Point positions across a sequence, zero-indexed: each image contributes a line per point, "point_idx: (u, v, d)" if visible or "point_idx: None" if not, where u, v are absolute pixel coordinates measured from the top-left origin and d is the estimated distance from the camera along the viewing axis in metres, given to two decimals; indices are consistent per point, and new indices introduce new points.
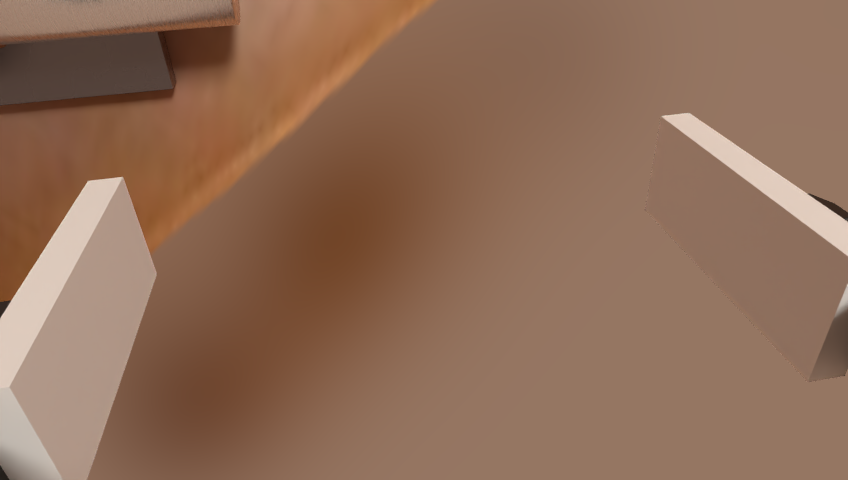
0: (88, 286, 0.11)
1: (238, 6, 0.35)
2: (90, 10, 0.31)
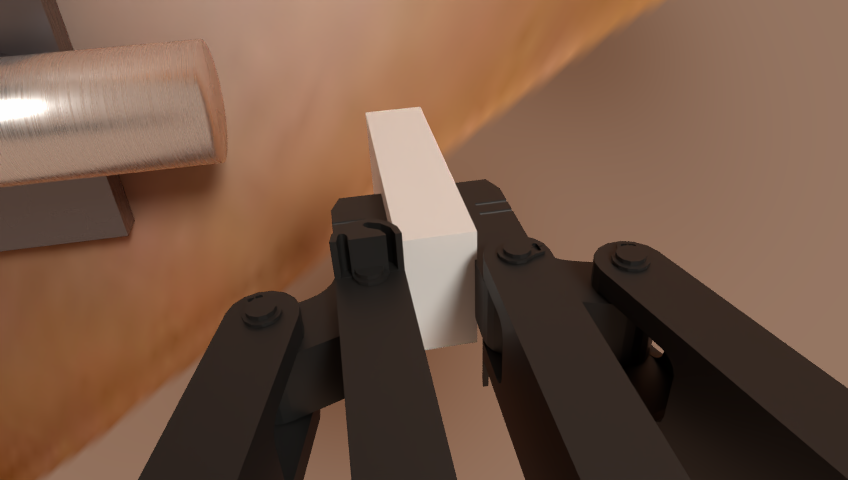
0: None
1: (224, 127, 0.22)
2: None
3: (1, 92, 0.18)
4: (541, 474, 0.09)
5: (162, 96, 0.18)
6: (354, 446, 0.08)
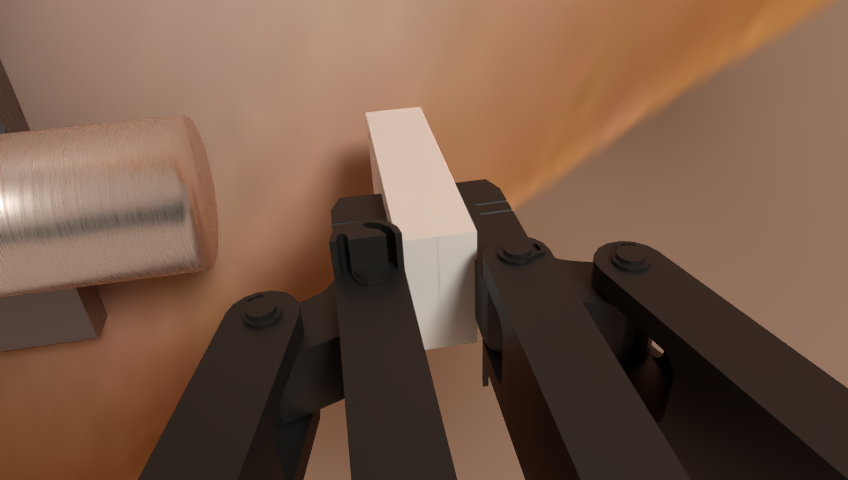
0: None
1: (214, 218, 0.17)
2: None
3: None
4: (541, 474, 0.09)
5: (129, 198, 0.14)
6: (354, 446, 0.08)
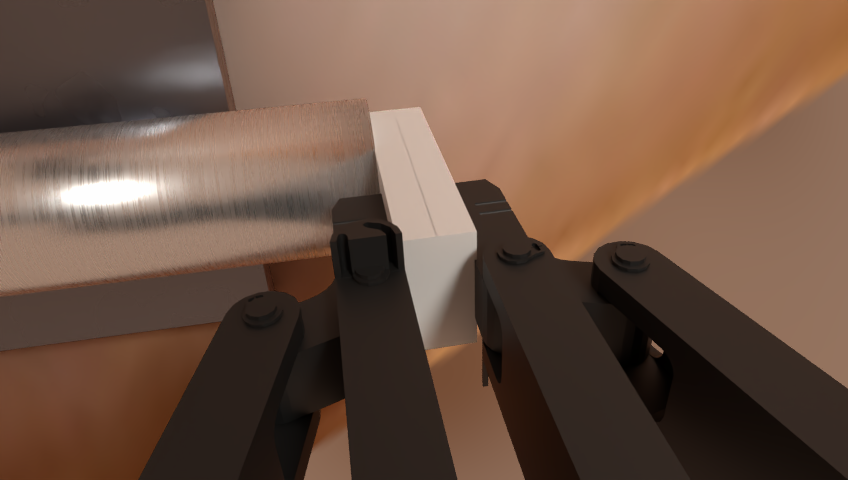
0: None
1: None
2: (88, 257, 0.14)
3: (132, 173, 0.14)
4: (541, 474, 0.09)
5: (333, 176, 0.14)
6: (354, 446, 0.08)
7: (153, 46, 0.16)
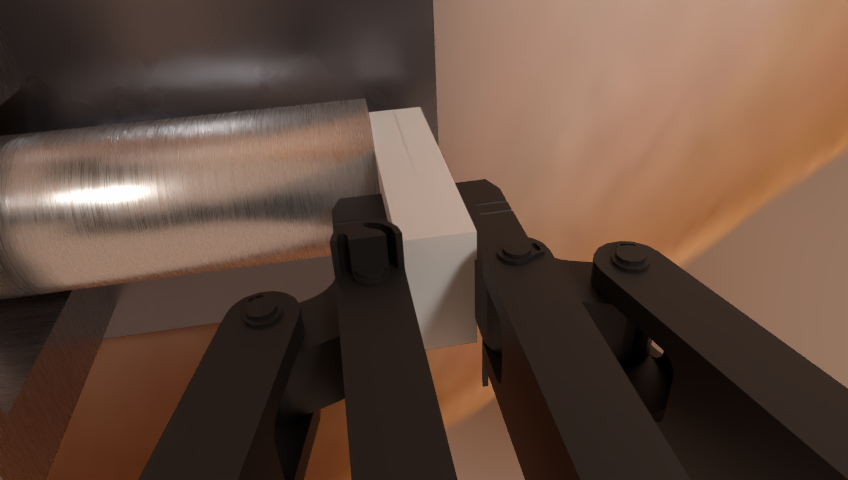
0: None
1: None
2: (88, 259, 0.14)
3: (132, 174, 0.14)
4: (541, 474, 0.09)
5: (332, 176, 0.14)
6: (354, 446, 0.08)
7: (378, 27, 0.17)
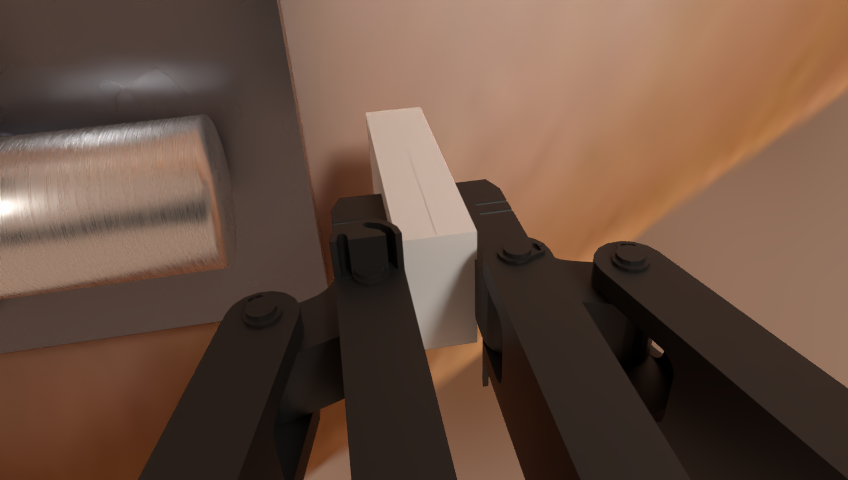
0: None
1: (232, 216, 0.18)
2: None
3: None
4: (541, 474, 0.09)
5: (152, 196, 0.14)
6: (354, 446, 0.08)
7: (225, 41, 0.16)
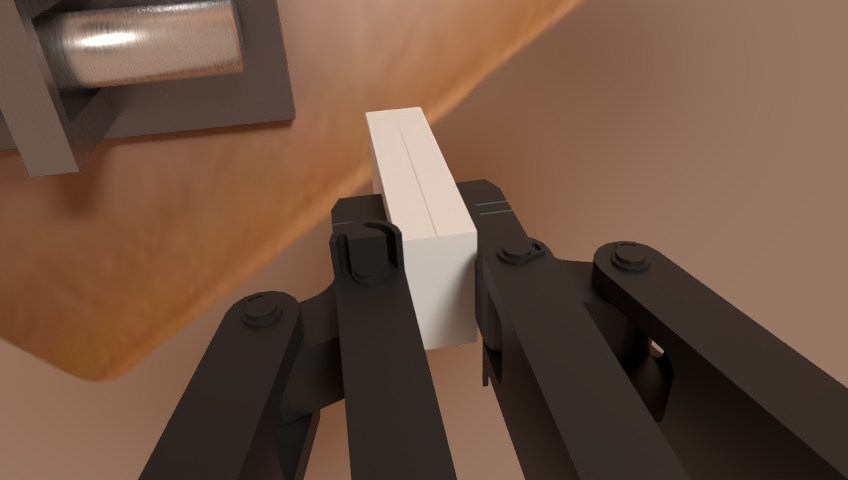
0: None
1: (244, 54, 0.36)
2: (104, 63, 0.33)
3: (123, 25, 0.32)
4: (541, 474, 0.09)
5: (211, 28, 0.33)
6: (354, 446, 0.08)
7: None
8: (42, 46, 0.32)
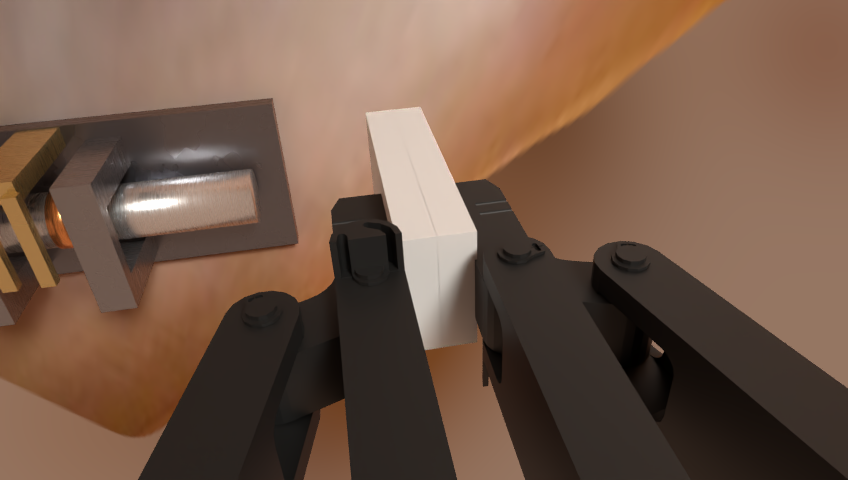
0: None
1: (259, 204, 0.47)
2: (155, 224, 0.43)
3: (170, 197, 0.43)
4: (541, 474, 0.09)
5: (236, 197, 0.43)
6: (354, 446, 0.08)
7: (257, 142, 0.46)
8: (110, 214, 0.42)
